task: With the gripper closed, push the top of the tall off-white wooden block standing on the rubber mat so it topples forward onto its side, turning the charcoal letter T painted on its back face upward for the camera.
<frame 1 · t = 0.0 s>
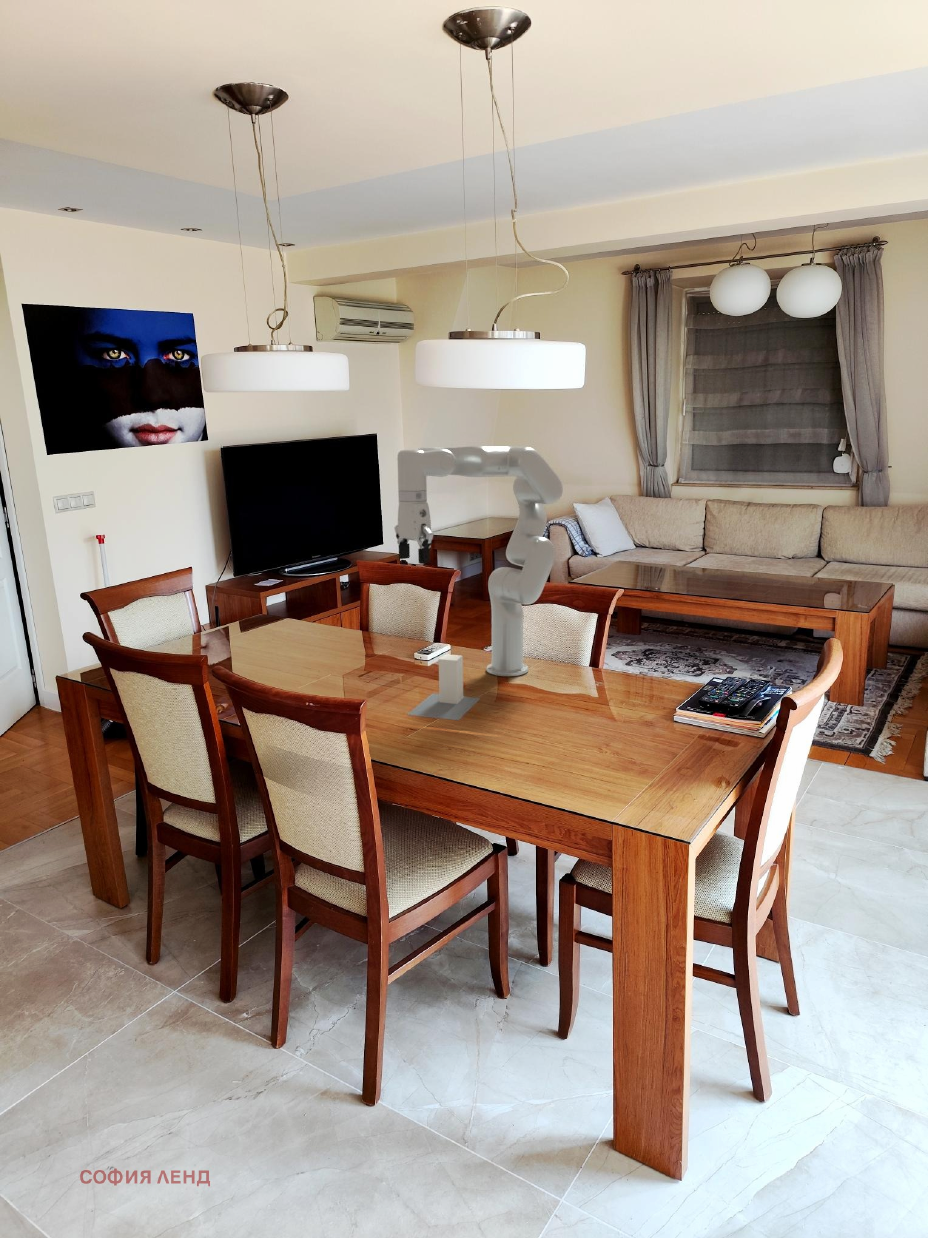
hand: (414, 560, 229), 37 cm above the table, fingers open, 9 cm apart
letter block: (451, 700, 228), point 1 cm above the table, touching mat
mat: (444, 708, 224), on the table
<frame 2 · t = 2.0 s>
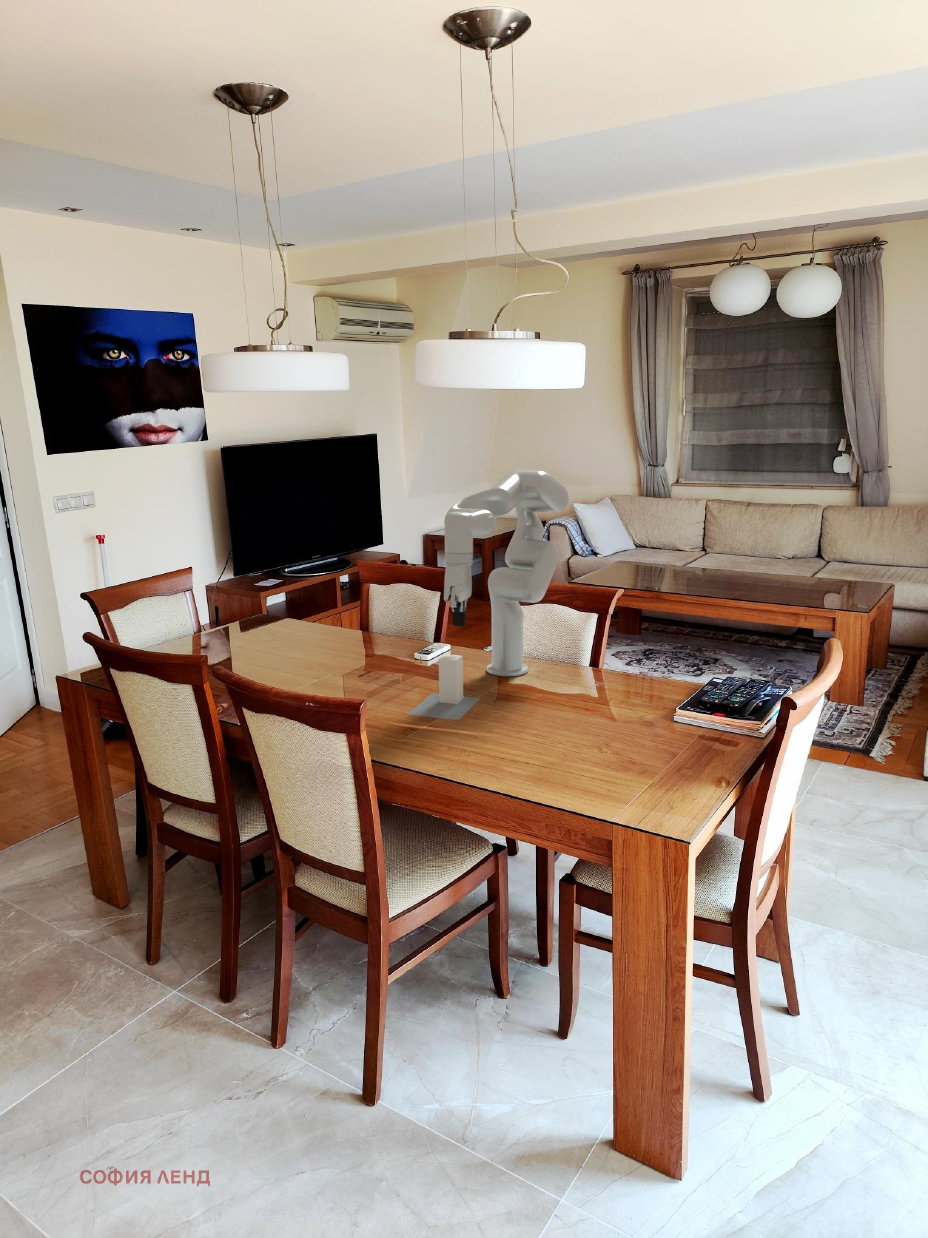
hand: (459, 625, 230), 20 cm above the table, fingers closed
nothing on the table moved.
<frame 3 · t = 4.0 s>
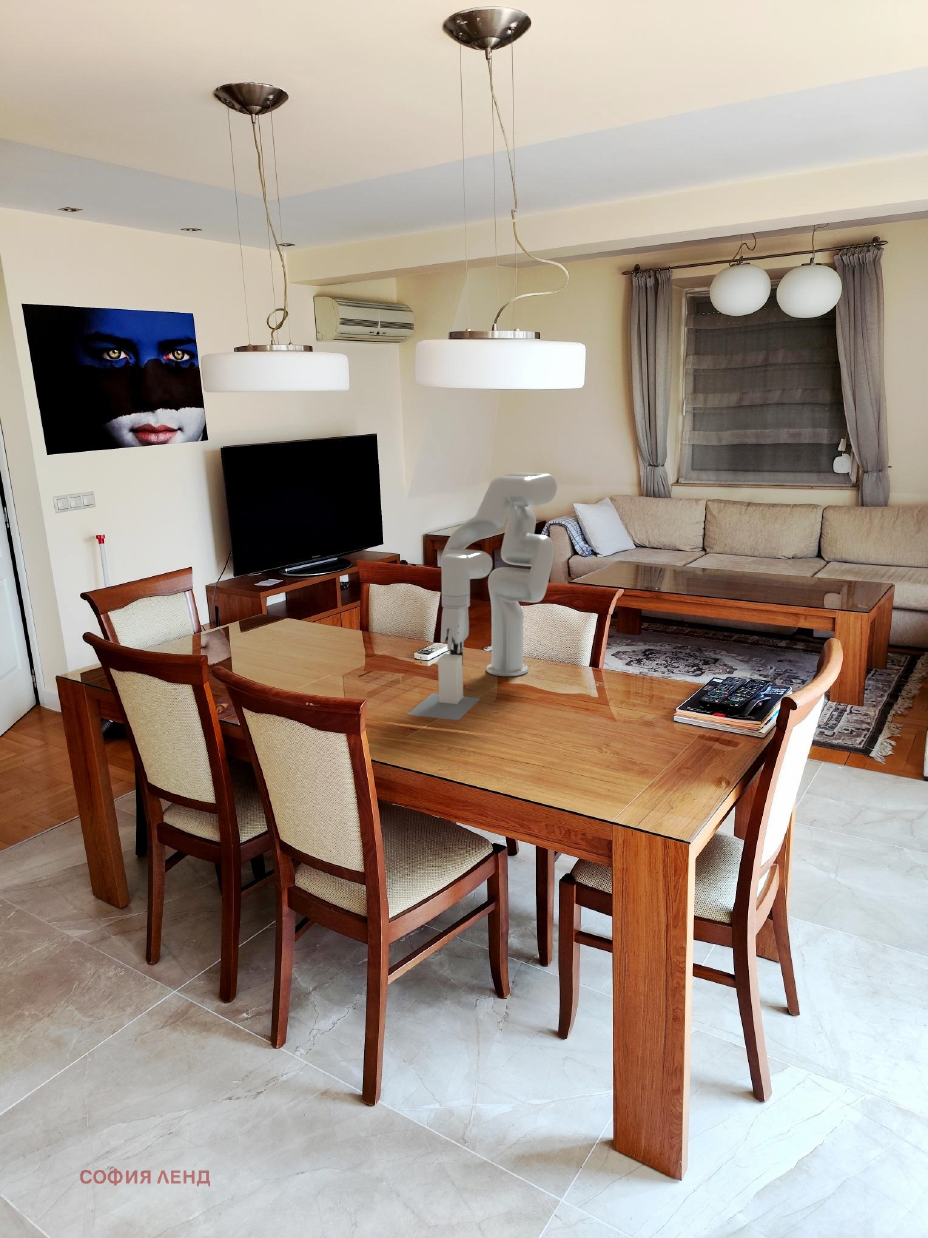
hand: (456, 666, 230), 9 cm above the table, fingers closed
nothing on the table moved.
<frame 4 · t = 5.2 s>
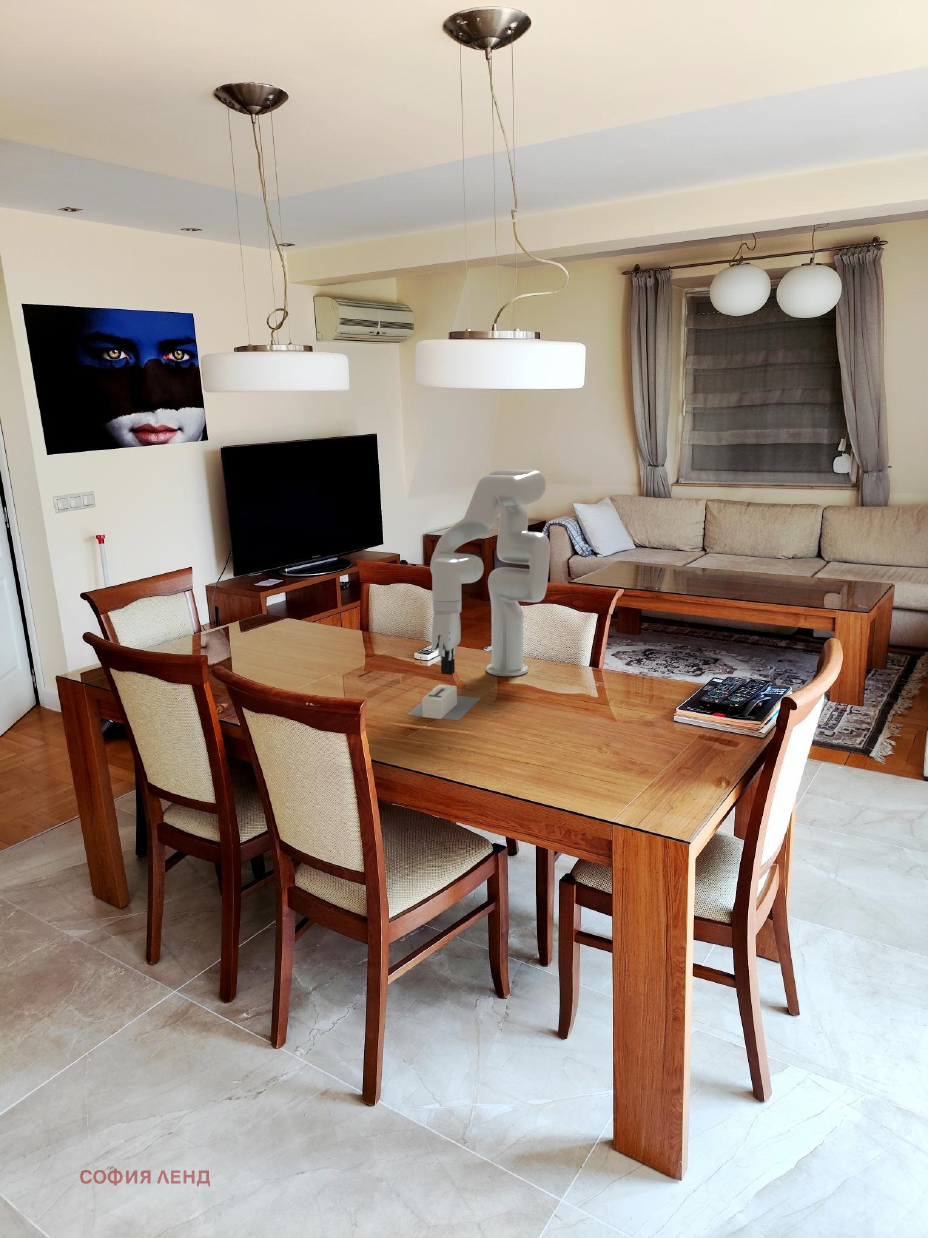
hand: (447, 673, 224), 9 cm above the table, fingers closed
letter block: (447, 694, 225), point 3 cm above the table, tilted 90°, touching mat
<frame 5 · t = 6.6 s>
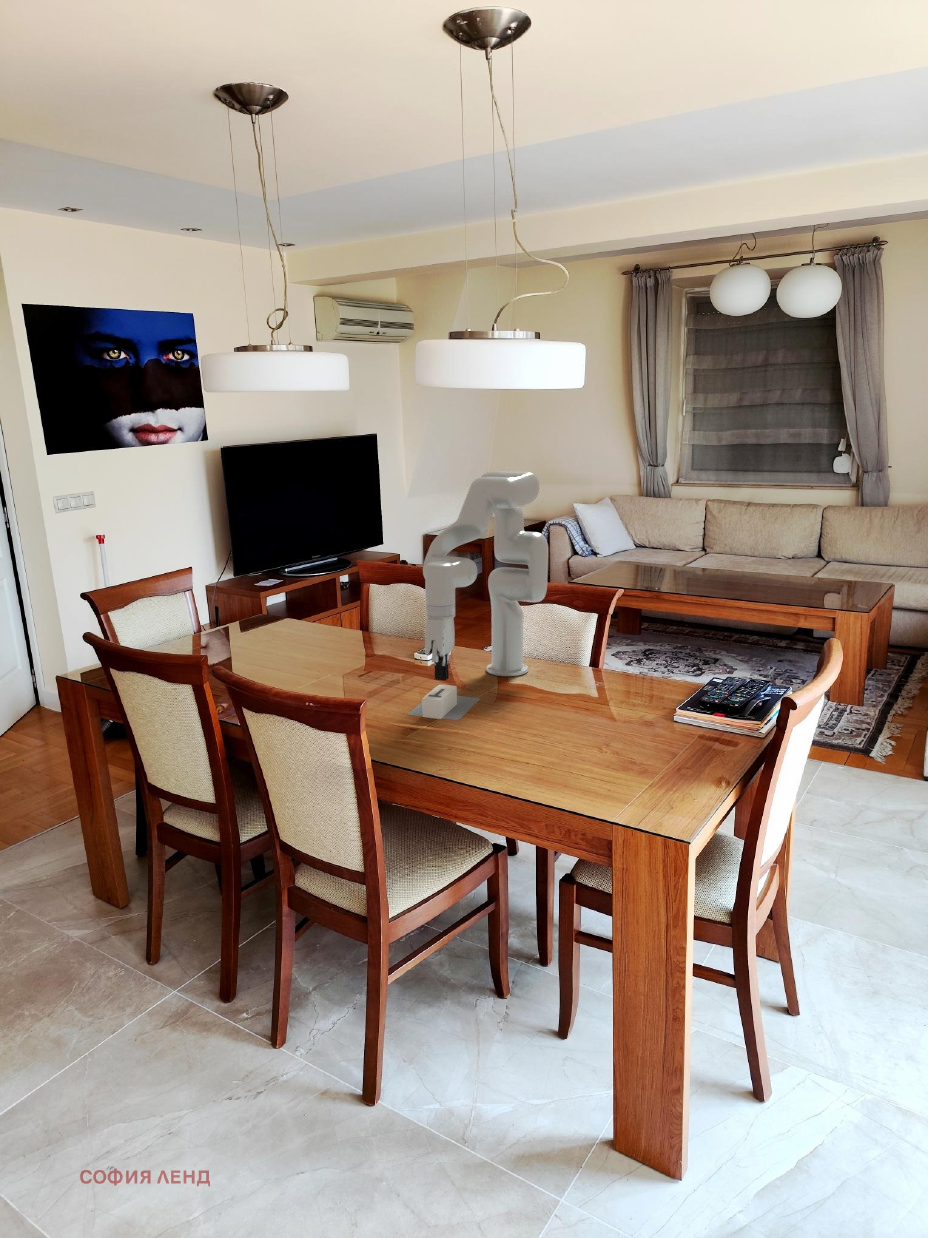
hand: (441, 679, 220), 9 cm above the table, fingers closed
nothing on the table moved.
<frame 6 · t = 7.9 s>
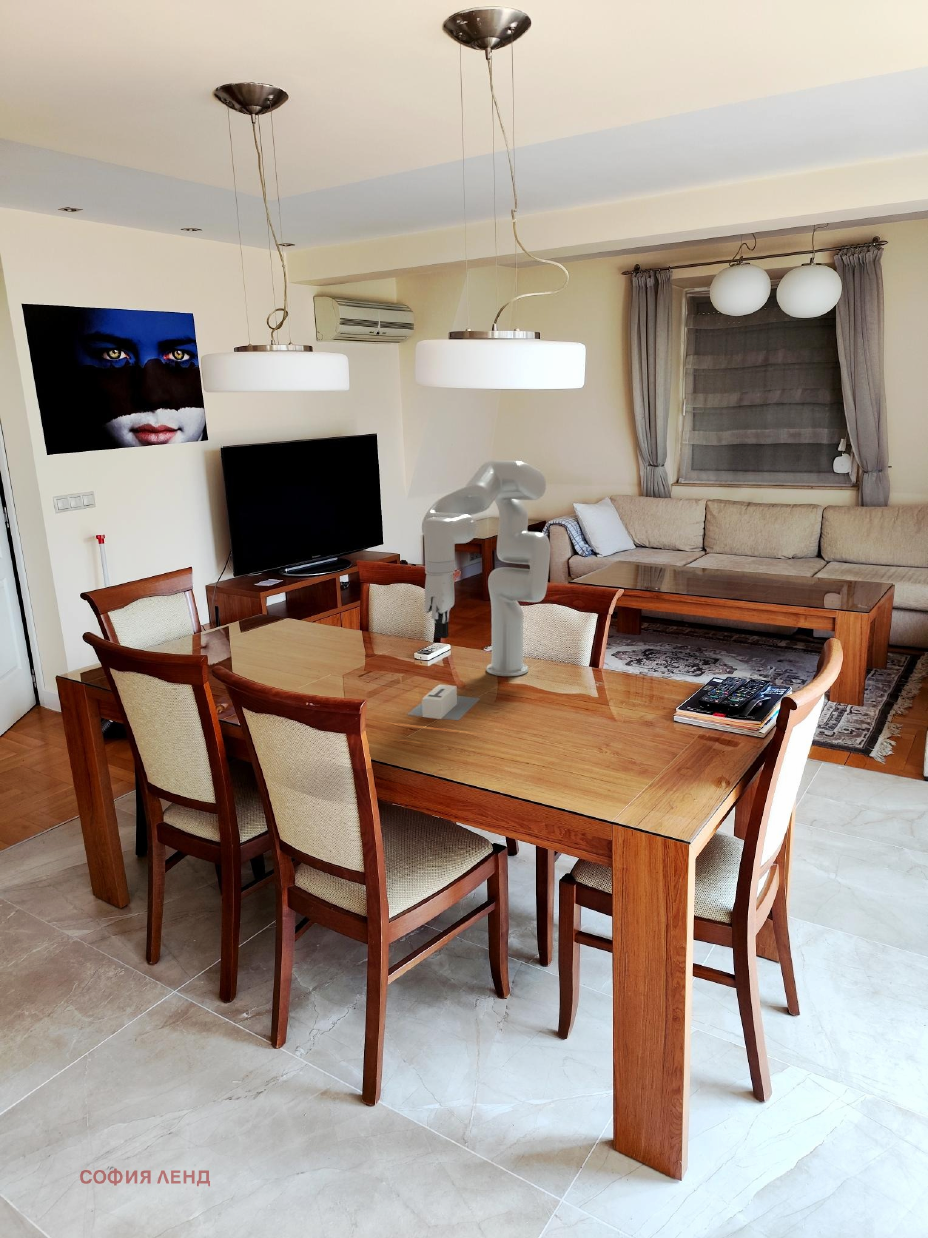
hand: (441, 637, 217), 20 cm above the table, fingers closed
nothing on the table moved.
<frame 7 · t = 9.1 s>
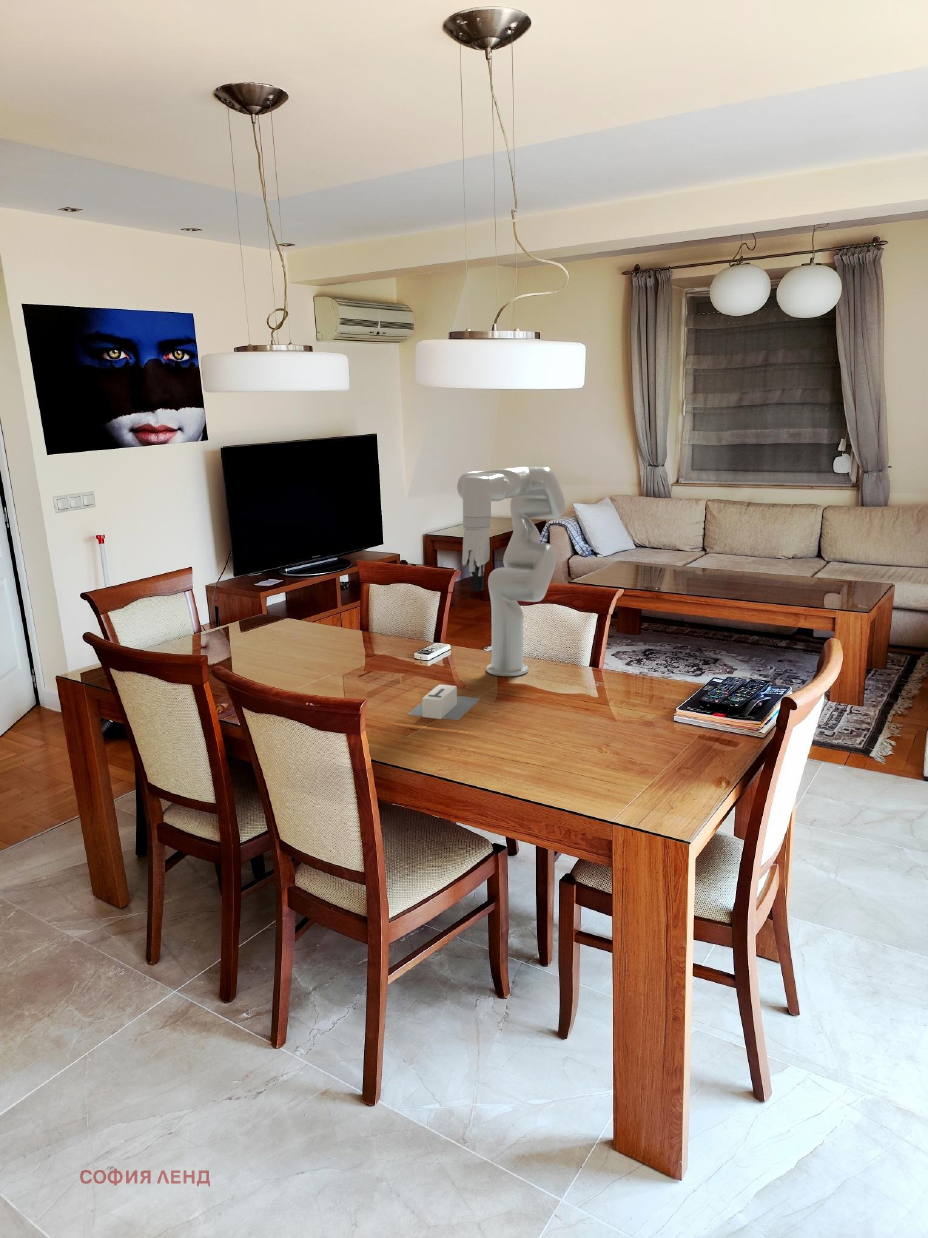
hand: (477, 589, 230), 29 cm above the table, fingers closed
nothing on the table moved.
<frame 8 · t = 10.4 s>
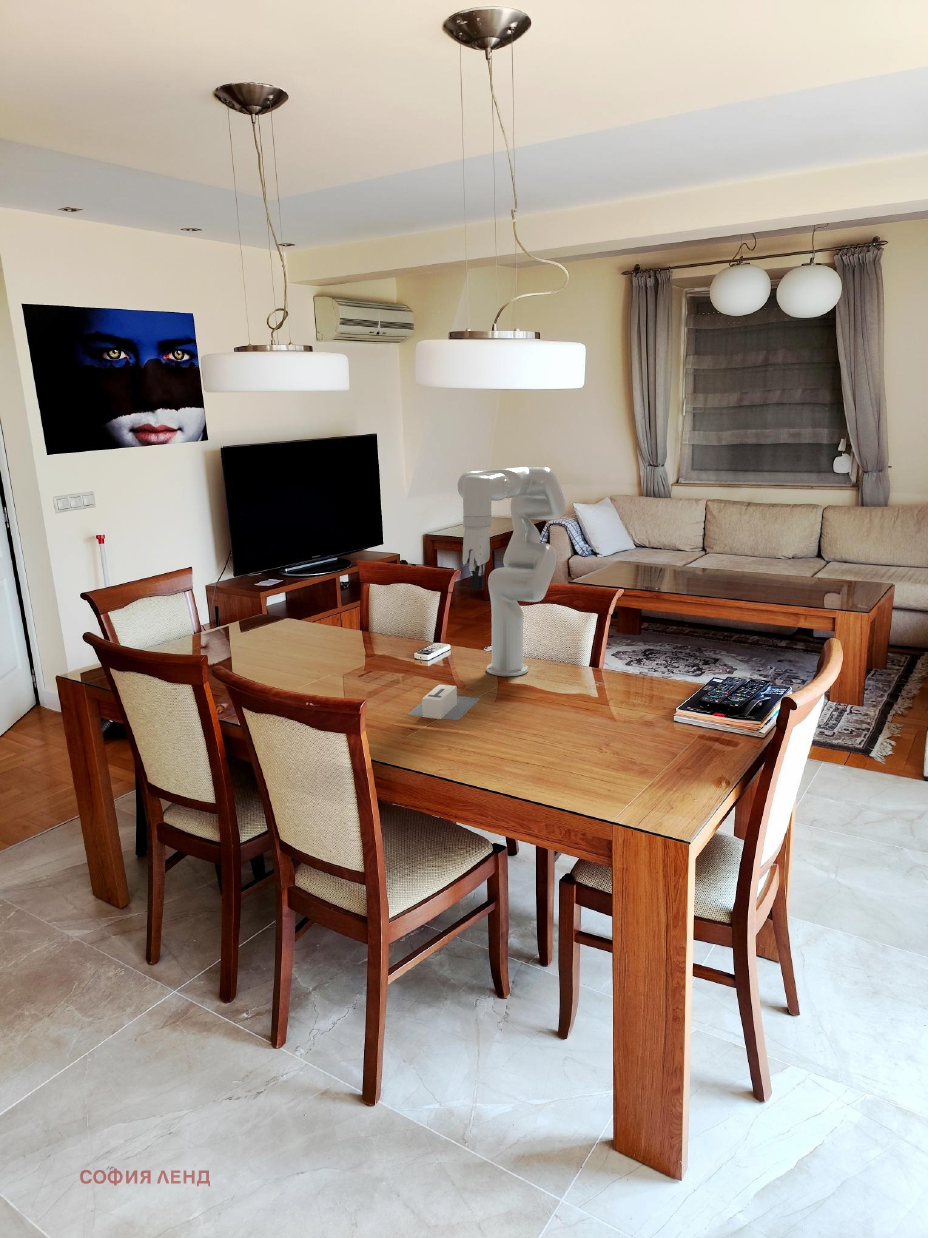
hand: (477, 589, 230), 29 cm above the table, fingers closed
nothing on the table moved.
at the end: letter block tilted 90°; letter block inside the target area (1.0 cm from its centre), point 3.1 cm above the table; letter block touching mat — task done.
